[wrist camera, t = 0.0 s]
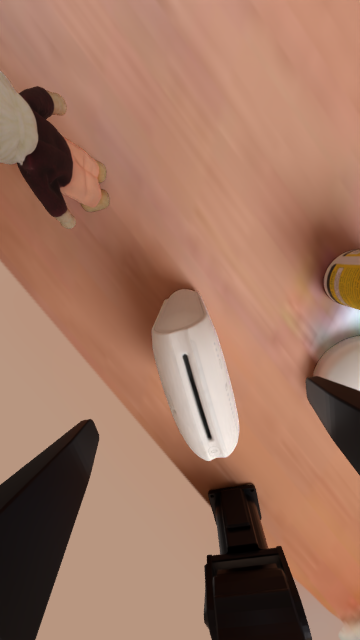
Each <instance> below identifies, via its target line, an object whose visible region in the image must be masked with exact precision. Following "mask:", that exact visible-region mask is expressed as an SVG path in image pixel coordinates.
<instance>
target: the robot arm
mask: <svg viewBox="0 0 360 640" xmlns="http://www.w3.org/2000/svg"><path fill="white" fill-rule="evenodd" d="M306 392H307V398H308V401H309V402H310V404H311V406H312V407H313V409H314V411H315V412H316V414H317V415H318V417H319V419H320V420H321V422H322V424H323V425H324V427H325V428H326V430H327V432H328V433H329V435H330V436H331V438H332V439H333V441H334V442H335V443H336V445H337V446H338V447H339V449H340V450H341V451H342V453H343V454H344V455H345V457H346V458H347V459H348V461H349V462H350V463H351V465H352V466H353V467H354V469H355V470H356V471H357V472H358V474H359V475H360V391H359V390H356V389H353V388H350V387H348V386H345V385H342V384H339V383H336V382H333V381H331V380H328V379H325V378H322V377H319V376H312V377H307V378H306ZM98 442H99V434H98V431H97V429H96V426H95V424H94V422H93V420H91V419H89V420H83V421H81V422H80V423H78V424H77V425H76V426H75V427H73V428H72V429H71V430H69V431H68V432H67V433H66V434H64V435H63V436H62V437H61V438H60V439H58V440H57V441H56V442H54V443H53V444H52V445H50V446H49V447H48V448H47V449H46V450H44V451H43V452H42V453H40V454H39V455H38V456H37V457H35V458H34V459H33V460H31V461H30V462H29V463H28V464H26V465H25V466H24V467H22V468H21V469H20V470H19V471H17V472H16V473H15V474H14V475H12V476H11V477H10V478H9V479H7V480H6V481H5V482H3V483H2V484H1V485H0V640H35V639H36V636H37V633H38V630H39V627H40V624H41V621H42V618H43V615H44V612H45V609H46V606H47V604H48V600H49V597H50V594H51V592H52V589H53V586H54V583H55V580H56V577H57V574H58V571H59V568H60V565H61V562H62V559H63V556H64V553H65V550H66V547H67V544H68V541H69V538H70V535H71V532H72V529H73V526H74V523H75V520H76V517H77V514H78V511H79V508H80V506H81V502H82V500H83V497H84V494H85V491H86V488H87V485H88V481H89V478H90V475H91V471H92V466H93V463H94V458H95V454H96V450H97V446H98ZM208 496H209V500H210V504H211V507H212V511H213V514H214V518H215V521H216V525H217V529H218V539H219V547H220V555H213V556H212V555H207V564H206V565H205V604H204V622H205V624H206V625H207V627H208V628H209V630H210V635H211V638H212V640H312V637H311V633H310V629H309V625H308V622H307V619H306V615H305V612H304V609H303V606H302V603H301V599H300V596H299V594H298V591H297V588H296V585H295V582H294V580H293V577H292V574H291V572H290V569H289V566H288V563H287V561H286V558H285V555H284V553H283V550H282V547H281V546H276V548H269V549H268V546H267V542H266V539H265V535H264V531H263V528H262V524H261V521H260V520H261V513H260V508H259V503H258V498H257V493H256V489H255V486H254V485H245V486H239V487H232V488H226V489H219V490H212V491H209V492H208Z"/></svg>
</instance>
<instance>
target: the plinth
mask: <svg viewBox="0 0 360 640" xmlns="http://www.w3.org/2000/svg"><path fill="white" fill-rule="evenodd" d="M313 376H319V377H322V378H325V379H328V380H331V381H333V382H336V383H339V384H342V385H345V386H348V387H350V388H353V389H356V390H359V391H360V335H359V336H354V337H350V338H348V339H345V340H343V341H341V342H339V343H337V344H336V345H334V346H332V347H331V348H330V349H329V350H328V351H327V352H326V353H325V354H324V355H323V356H322V357H321V358H320V360H319V361H318V363H317V365H316V367H315V369H314V372H313Z"/></svg>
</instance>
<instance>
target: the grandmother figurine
mask: <svg viewBox="0 0 360 640" xmlns="http://www.w3.org/2000/svg"><path fill="white" fill-rule="evenodd" d="M65 112H66V103H65V101H64V99H63V98H62V96H60V95H59V94H57V93H52V92H49V91H47V90H45V89H43V88H41V87H38V86H37V87H33V88H30V89H26V90H24V91H22V92H20V93H19V94H18V93H17V92H16V91H15V89H14V88H13V86H12V84H11V82H10V81H9V79H8V78H7V77H6V76H5V75H4V74H3V73H2V72H1V71H0V163H5V164H15V163H17V164H18V167H19V169H20V172H21V174H22V175H23V177H24V179H25V180H26V182H27V183H28V185H29V186H30V188H31V189H32V191H33V192H34V194H35V195H36V196H37V198H38V199H39V200H40V202H41V203H42V204H43V206H44V207H45V209H46V210H47V211H48V212H49V213H50V215H51V216H53V217H55V218H56V219H57V220H58V221H60V223H61V225H62V226H63V227H65V228H67V229H71V228H73V227H74V226H75V224H76V220H75V218H74V216H73V215H72V214H70V211H69V210H68V208H67V206H66V203H65V201H64V198H63V196H62V194H64V195H66V196H68V197H70V198H72V199H74V200H76V201H78V202H80V203H81V206H82V207H83V208H84V209H85V210H86V211H88V212H94V211H98V210H102V209H105V208H107V207H108V205H109V196H108V193H107V192H106V191H105V190H102V189H100V186H99V183H101V182H103V181H104V180H105V178H106V168H105V166H104V165H103V164H102V163H100V162H98V161H96V160H94V159H93V158H92V157H90V156H89V155H88V154H87V153H86V152H85V151H84V150H83V149H81V148H80V147H78V146H77V145H75V144H74V143H72V142H71V141H69V140H68V139H66V138H64V137H63V136H62V135H61V134H60V133H59V132H58V131H57V129H56V128H55V127H54V126H53V125H52V124H51V123H50V122H48V121H47V120H46V119H47V118H48V117H50V116H51V115H52V114H53V115H55V114H57V115H64V114H65Z"/></svg>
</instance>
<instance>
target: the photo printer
mask: <svg viewBox="0 0 360 640" xmlns="http://www.w3.org/2000/svg"><path fill="white" fill-rule="evenodd" d="M152 347H153V353H154V357H155V361H156V365H157V369H158V373H159V376H160V380H161V383H162V386H163V389H164V392H165V395H166V398H167V401H168V404H169V407H170V409H171V412H172V415H173V417H174V420H175V422H176V424H177V427H178V429H179V431H180V433H181V434H182V436H183V438H184V440H185V441H186V443H187V444H188V446H189V447H190V448H191V449H192V451H193V452H194V453H195V454H197V455H198V456H199V457H200V458H202V459H204V460H206V461H211V460H213V459H215V458H219V457H223V458H225V457H227V456H229V455H230V454H231V453H232V452H233V450H234V449H235V447H236V445H237V442H238V436H239V419H238V413H237V408H236V403H235V398H234V394H233V390H232V386H231V382H230V378H229V374H228V370H227V367H226V363H225V359H224V356H223V352H222V349H221V346H220V342H219V339H218V336H217V333H216V330H215V328H214V325H213V323H212V320H211V318H210V315H209V313H208V311H207V308H206V306H205V303H204V301H203V299H202V297H201V295H200V293H199V292H198V291H192V290H189V289H181V290H178V291H176V292H174V293H173V294H172V295H171V296H170V297H169V298H168V299H165V300H164V302H163V305H162V307H161V309H160V312H159V314H158V316H157V318H156V321H155V323H154V325H153V327H152Z"/></svg>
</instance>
